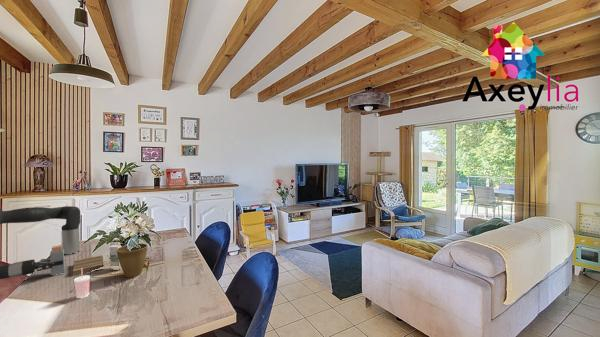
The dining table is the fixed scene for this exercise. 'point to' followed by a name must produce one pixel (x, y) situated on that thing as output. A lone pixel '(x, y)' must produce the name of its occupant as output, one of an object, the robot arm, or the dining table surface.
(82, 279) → the beverage cup
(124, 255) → the plant pot
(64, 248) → the robot arm
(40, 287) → the dining table surface
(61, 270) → the grey open box
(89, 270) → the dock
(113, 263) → the syrup box
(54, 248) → the block
